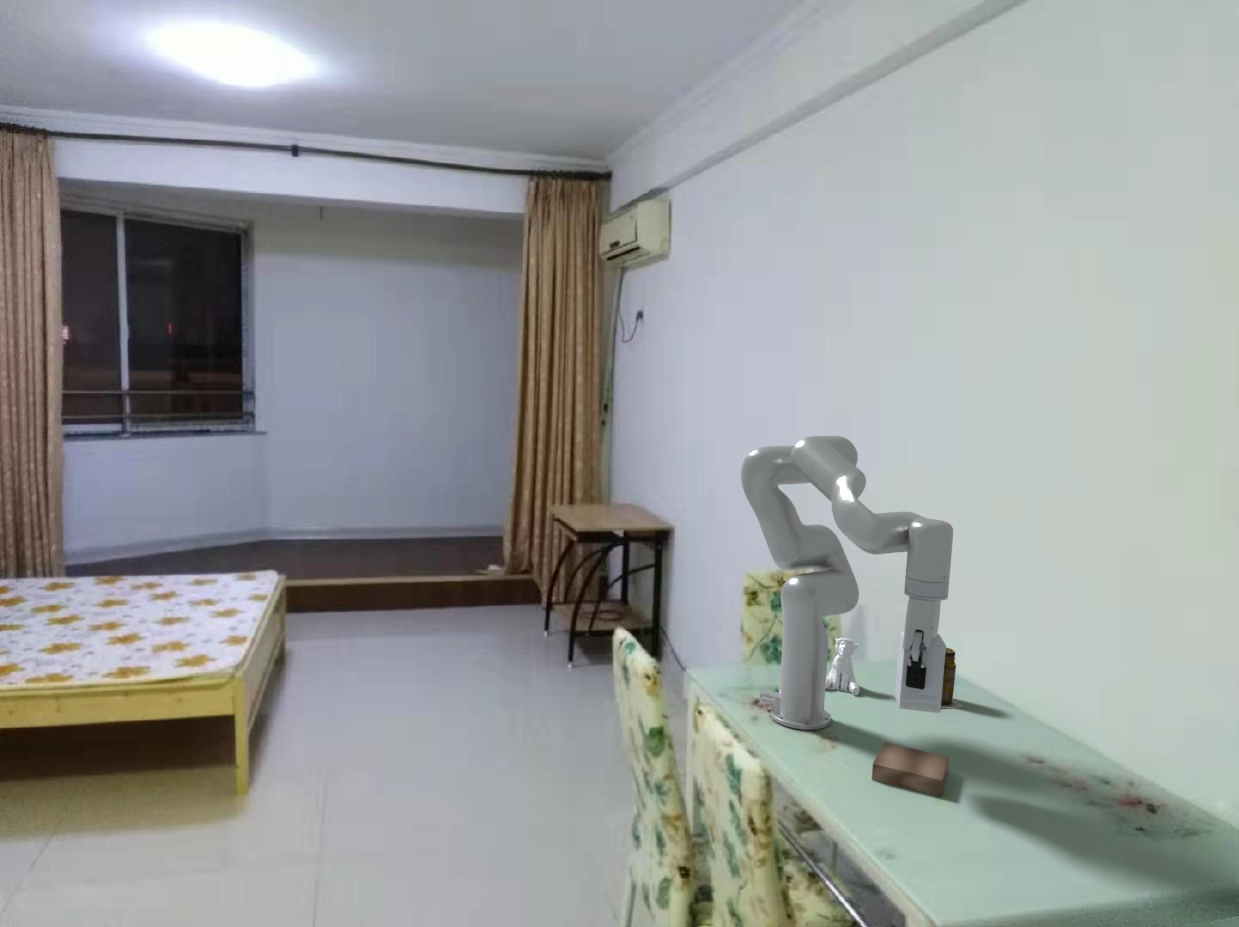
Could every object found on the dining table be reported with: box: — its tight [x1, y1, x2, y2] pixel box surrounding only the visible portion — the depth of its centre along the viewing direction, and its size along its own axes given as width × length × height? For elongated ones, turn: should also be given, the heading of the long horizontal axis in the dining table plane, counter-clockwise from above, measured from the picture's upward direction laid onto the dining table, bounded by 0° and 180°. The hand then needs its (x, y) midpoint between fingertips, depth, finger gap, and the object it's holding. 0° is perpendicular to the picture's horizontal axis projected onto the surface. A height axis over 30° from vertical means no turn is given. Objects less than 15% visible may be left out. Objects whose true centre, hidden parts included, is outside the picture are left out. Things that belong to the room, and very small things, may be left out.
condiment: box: [941, 647, 965, 709], centre depth 201 cm, size 7×8×12 cm
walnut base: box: [871, 742, 950, 797], centre depth 163 cm, size 12×11×3 cm
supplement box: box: [894, 630, 947, 714], centre depth 161 cm, size 7×7×13 cm
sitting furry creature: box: [825, 637, 861, 697], centre depth 207 cm, size 10×9×12 cm
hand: (918, 679), depth 161 cm, fingers closed on supplement box, 8 cm apart
